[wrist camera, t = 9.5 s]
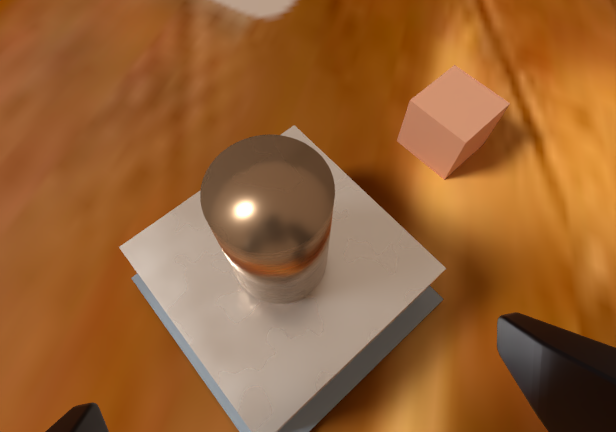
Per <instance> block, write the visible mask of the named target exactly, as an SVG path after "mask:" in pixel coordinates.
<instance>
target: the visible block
mask: <svg viewBox="0 0 616 432" xmlns="http://www.w3.org/2000/svg"><path fill="white" fill-rule="evenodd" d="M509 104H510V103H508V102H507V101H506V100H504V99H503V98H501V97H500V96H498V95H497V94H496V93H494V92H493V91H491V90H490V89H488V88H487V87H485V86H484V85H483V84H481V83H480V82H478V81H477V80H475V79H474V78H472V77H471V76H470V75H468V74H467V73H465V72H464V71H462V70H461V69H460V68H458V67H457V66H455V65H454V66H453V67H452V68H450V69H449V70H448V71H446V72H445V73H444V74H443V75H441V76H440V77H439V78H438V79H436V80H435V81H434V82H433V83H431V84H430V85H429V86H428V87H426V88H425V89H424V90H422V91H421V92H420V93H419V94H417V95H416V96H415V97H414V98H412V99H411V100H410V102H409V105H408V108H407V111H406V115H405V118H404V121H403V124H402V127H401V130H400V133H399V136H398V139H397V141H398V142H399V143H400V144H401V145H403V146H404V147H405V148H406V149H407V150H409V151H410V152H411V153H412V154H414V155H415V156H416V157H417V158H418V159H420V160H421V161H422V162H423V163H425V164H426V165H427V166H428V167H429V168H431V169H432V170H433V171H434V172H436V173H437V174H438V175H439V176H440V177H442V178H443V179H444V180H445V179H446V178H447V177H448V176H449V175H450V174H451V173H452V172H453V171H455V170H456V169H457V168H458V167H459V166H460V165H461V164H462V163H463V162H464V161H466V160H467V159H468V158H469V157H470V156H471V155H472V154H473V153H474V152H476V151H477V150H478V149H479V148H480V147H481V146H482V145H483V144H484V143H485V141H486V140H487V138H488V137H489V135H490V134H491V132H492V131H493V129H494V127H495V126H496V124H497V123H498V121H499V120H500V118H501V117H502V115H503V114H504V112H505V111H506V109H507V107H508V106H509Z"/></svg>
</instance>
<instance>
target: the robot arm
mask: <svg viewBox="0 0 616 432" xmlns="http://www.w3.org/2000/svg"><path fill="white" fill-rule="evenodd" d="M497 348H498V352H499V354H500V356H501V358H502V360H503V361H504V363H505V365H506V366H507V368H508V369H509V371H510V373H511V374H512V376H513V378H514V379H515V381H516V383H517V384H518V386H519V387H520V389H521V391H522V392H523V394H524V396H525V397H526V399H527V400H528V402H529V404H530V405H531V407H532V408H533V410H534V412H535V413H536V415H537V416H538V418H539V419H540V420H541V422H542V423H543V424H544V426H545V427H546V429H547V430H548V431H549V432H616V348H615V347H612V346H609V345H607V344H604V343H601V342H598V341H595V340H593V339H590V338H587V337H584V336H582V335H579V334H576V333H573V332H570V331H568V330H565V329H562V328H559V327H557V326H554V325H551V324H548V323H545V322H543V321H540V320H537V319H534V318H532V317H529V316H526V315H523V314H520V313H516V312H515V313H510V314H505V315H501V316H500V317H499V318H498V322H497ZM46 432H108V429H107V426H106V424H105V421H104V419H103V416H102V414H101V411H100V409H99V407H98V405H97V404H96V403H87V404H82V405H78V406H75V407H73V408H72V409H70V410H69V411H68V412H67V413H66V414H65V415H64V416H63V417H61V418H60V419H59V420H58V421H57V422H56V423H55V424H54V425H52V426H51V427H50V428H49V429H48V430H47V431H46Z"/></svg>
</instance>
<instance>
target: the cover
mask: <svg viewBox="0 0 616 432" xmlns="http://www.w3.org/2000/svg"><path fill="white" fill-rule="evenodd" d="M119 248H120V249H121V251H122V252H123V253H124V255H125V256H126V258H127V259H128V260H129V262H130V263H131V265H132V266H133V267H134V269H135V270H136V272H137V273H138V274H139V276H140V277H141V279H142V280H143V281H144V283H145V284H146V286H147V287H148V288H149V290H150V291H151V292H152V294H153V295H154V297H155V298H156V299H157V301H158V302H159V304H160V305H161V306H162V308H163V309H164V311H165V312H166V313H167V315H168V316H169V318H170V319H171V320H172V322H173V323H174V325H175V326H176V327H177V329H178V330H179V332H180V333H181V334H182V336H183V337H184V339H185V340H186V341H187V343H188V344H189V345H190V347H191V348H192V350H193V351H194V352H195V354H196V355H197V357H198V358H199V359H200V361H201V362H202V364H203V365H204V366H205V368H206V369H207V371H208V372H209V373H210V375H211V376H212V378H213V379H214V380H215V382H216V383H217V385H218V386H219V387H220V389H221V390H222V391H223V393H224V394H225V396H226V397H227V398H228V400H229V401H230V403H231V404H232V405H233V407H234V408H235V410H236V411H237V412H238V414H239V415H240V417H241V418H242V419H243V421H244V422H245V424H246V425H247V426H248V428H249V429H250V431H251V432H278V431H279V430H280V429H281V428H282V427H283V426H285V425H286V424H287V423H288V422H289V421H290V420H291V419H292V418H293V417H294V416H295V415H296V414H297V413H298V412H299V411H300V410H301V409H302V408H303V407H304V406H305V405H306V404H308V403H309V402H310V401H311V400H312V399H313V398H314V397H315V396H316V395H317V394H318V393H319V392H320V391H321V390H322V389H323V388H324V387H325V386H326V385H327V384H328V383H329V382H330V381H332V380H333V379H334V378H335V377H336V376H337V375H338V374H339V373H340V372H341V371H342V370H343V369H344V368H345V367H346V366H347V365H348V364H349V363H350V362H351V361H352V360H353V359H354V358H356V357H357V356H358V355H359V354H360V353H361V352H362V351H363V350H364V349H365V348H366V347H367V346H368V345H369V344H370V343H371V342H372V341H373V340H374V339H375V338H376V337H377V336H379V335H380V334H381V333H382V332H383V331H384V330H385V329H386V328H387V327H388V326H389V325H390V324H391V323H392V322H393V321H394V320H395V319H396V318H397V317H398V316H399V315H400V314H401V313H403V312H404V311H405V310H406V309H407V308H408V307H409V306H410V305H411V304H412V303H413V302H414V301H415V300H416V299H417V298H418V297H419V296H420V295H421V294H422V293H423V292H424V291H425V290H426V289H427V288H428V287H429V286H430V285H431V284H432V283H433V282H434V281H435V280H436V279H437V278H438V277H439V275H440V274H441V273H442V272H443V271H444V270H445V269H446V268H445V267H444V266H443V265H442V264H441V263H440V262H439V261H438V260H437V259H436V258H435V257H434V256H433V255H432V254H430V253H429V252H428V251H427V250H426V249H425V248H424V247H423V246H422V245H421V244H420V243H419V242H418V241H417V240H416V239H415V238H413V237H412V236H411V235H410V234H409V233H408V232H407V231H406V230H405V229H404V228H403V227H402V226H401V225H400V224H399V223H398V222H396V221H395V220H394V219H393V218H392V217H391V216H390V215H389V214H388V213H387V212H386V211H385V210H384V209H383V208H382V207H381V206H379V205H378V204H377V203H376V202H375V201H374V200H373V199H372V198H371V197H370V196H369V195H368V194H367V193H366V192H365V191H364V190H362V189H361V188H360V187H359V186H358V185H357V184H356V183H355V182H354V181H353V180H352V179H351V178H350V177H349V176H348V175H347V174H345V173H344V172H343V171H342V170H341V169H340V168H339V167H338V166H337V165H336V164H335V163H334V162H333V161H332V160H331V159H330V158H328V157H327V156H326V155H325V154H324V153H323V152H322V151H321V150H320V149H319V148H318V147H317V146H316V145H315V144H314V143H313V142H312V141H310V140H309V139H308V138H307V137H306V136H305V135H304V134H303V133H302V132H301V131H300V130H299V129H298V128H297V127H296V126H295V125H294V126H293V127H291V128H290V129H288V130H287V131H285V132H284V133H283V134H281V135H260V136H254V137H250V138H247V139H244V140H241V141H239V142H237V143H235V144H233V145H231V146H230V147H228V148H227V149H225V150H224V151H223V152H222V153H220V154H219V155H218V156H217V157H216V158H215V160H214V161H213V162H212V163H211V165H210V166H209V168H208V170H207V171H206V174H205V176H204V178H203V182H202V185H201V191H199V192H198V193H196V194H195V195H193V196H192V197H191V198H189V199H188V200H186V201H185V202H183V203H182V204H180V205H179V206H178V207H176V208H175V209H173V210H172V211H170V212H169V213H168V214H166V215H165V216H163V217H162V218H160V219H159V220H157V221H156V222H155V223H153V224H152V225H150V226H149V227H147V228H146V229H145V230H143V231H142V232H140V233H139V234H137V235H136V236H134V237H133V238H132V239H130V240H129V241H127V242H126V243H124V244H123V245H122V246H120V247H119Z"/></svg>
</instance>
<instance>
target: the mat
mask: <svg viewBox="0 0 616 432" xmlns="http://www.w3.org/2000/svg"><path fill="white" fill-rule="evenodd" d="M132 280H133V281H134V283H135V284H136V285H137V287H138V288H139V290H140V291H141V293H142V294H143V295H144V297H145V298H146V300H147V301H148V302H149V304H150V305H151V307H152V308H153V310H154V311H155V312H156V314H157V315H158V317H159V318H160V319H161V321H162V322H163V324H164V325H165V327H166V328H167V329H168V331H169V332H170V334H171V335H172V336H173V338H174V339H175V341H176V342H177V344H178V345H179V346H180V348H181V349H182V351H183V352H184V354H185V355H186V356H187V358H188V359H189V361H190V362H191V363H192V365H193V366H194V368H195V369H196V371H197V372H198V373H199V375H200V376H201V378H202V379H203V380H204V382H205V383H206V385H207V386H208V388H209V389H210V390H211V392H212V393H213V395H214V396H215V397H216V399H217V400H218V402H219V403H220V405H221V406H222V407H223V409H224V410H225V412H226V413H227V414H228V416H229V417H230V419H231V420H232V422H233V423H234V424H235V426H236V427H237V429H238V430H239V431H240V432H251V431H250V429H249V428H248V426H247V425H246V424H245V422H244V421H243V419H242V418H241V417H240V415H239V414H238V412H237V411H236V410H235V408H234V407H233V405H232V404H231V403H230V401H229V400H228V398H227V397H226V396H225V394H224V393H223V391H222V390H221V389H220V387H219V386H218V385H217V383H216V382H215V380H214V379H213V378H212V376H211V375H210V373H209V372H208V371H207V369H206V368H205V366H204V365H203V364H202V362H201V361H200V359H199V358H198V357H197V355H196V354H195V352H194V351H193V350H192V348H191V347H190V345H189V344H188V343H187V341H186V340H185V339H184V337H183V336H182V334H181V333H180V332H179V330H178V329H177V327H176V326H175V325H174V323H173V322H172V320H171V319H170V318H169V316H168V315H167V313H166V312H165V311H164V309H163V308H162V306H161V305H160V304H159V302H158V301H157V299H156V298H155V297H154V295H153V294H152V292H151V291H150V290H149V288H148V287H147V286H146V284H145V283H144V281H143V280H142V279H141V277H140V276H139V274H136V275H135V276H133V277H132ZM442 300H443V298H442V297H441V296H440V295H439V294H438V293H437V292H436V291H435V290H434V289H433V288H432V287H431V286H429V287H428V288H427V289H426V290H425V291H424V292H423V293H422V294H421V295H420V296H419V297H418V298H417V299H416V300H415V301H414V302H413V303H412V304H411V305H410V306H409V307H408V308H407V309H406V310H405V311H404V312H403V313H401V314H400V315H399V316H398V317H397V318H396V319H395V320H394V321H393V322H392V323H391V324H390V325H389V326H388V327H387V328H386V329H385V330H384V331H383V332H382V333H381V334H380V335H379V336H377V337H376V338H375V339H374V340H373V341H372V342H371V343H370V344H369V345H368V346H367V347H366V348H365V349H364V350H363V351H362V352H361V353H360V354H359V355H358V356H357V357H356V358H354V359H353V360H352V361H351V362H350V363H349V364H348V365H347V366H346V367H345V368H344V369H343V370H342V371H341V372H340V373H339V374H338V375H337V376H336V377H335V378H334V379H333V380H332V381H330V382H329V383H328V384H327V385H326V386H325V387H324V388H323V389H322V390H321V391H320V392H319V393H318V394H317V395H316V396H315V397H314V398H313V399H312V400H311V401H310V402H309V403H308V404H306V405H305V406H304V407H303V408H302V409H301V410H300V411H299V412H298V413H297V414H296V415H295V416H294V417H293V418H292V419H291V420H290V421H289V422H288V423H287V424H286V425H285V426H283V427H282V428H281V429H280V430H279V431H278V432H309V431H310V430H311V429H312V428H313V427H314V426H315V425H316V424H317V423H318V422H319V421H320V420H321V419H322V418H323V417H324V416H325V415H326V414H327V413H328V412H330V411H331V410H332V409H333V408H334V407H335V406H336V405H337V404H338V403H339V402H340V401H341V400H342V399H343V398H344V397H345V396H346V395H347V394H348V393H349V392H350V391H351V390H352V389H353V388H354V387H355V386H356V385H357V384H358V383H359V382H360V381H361V380H362V379H363V378H364V377H365V376H366V375H367V374H368V373H369V372H370V371H371V370H372V369H373V368H374V367H375V366H376V365H377V364H378V363H379V362H380V361H381V360H382V359H383V358H384V357H385V356H386V355H387V354H388V353H389V352H390V351H392V350H393V349H394V348H395V347H396V346H397V345H398V344H399V343H400V342H401V341H402V340H403V339H404V338H405V337H406V336H407V335H408V334H409V333H410V332H411V331H412V330H413V329H414V328H415V327H416V326H417V325H418V324H419V323H420V322H421V321H422V320H423V319H424V318H425V317H426V316H427V315H428V314H429V313H430V312H431V311H432V310H433V309H434V308H435V307H436V306H437V305H438V304H439V303H440V302H441V301H442Z"/></svg>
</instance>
